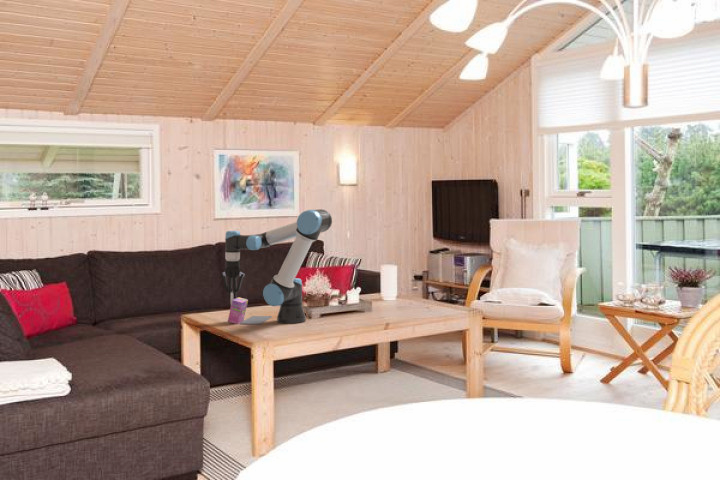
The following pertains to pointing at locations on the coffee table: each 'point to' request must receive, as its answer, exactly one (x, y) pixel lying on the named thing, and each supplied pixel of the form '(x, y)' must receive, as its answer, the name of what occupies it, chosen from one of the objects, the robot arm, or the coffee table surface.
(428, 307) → the coffee table surface
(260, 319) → the felt mat
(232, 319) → the box
